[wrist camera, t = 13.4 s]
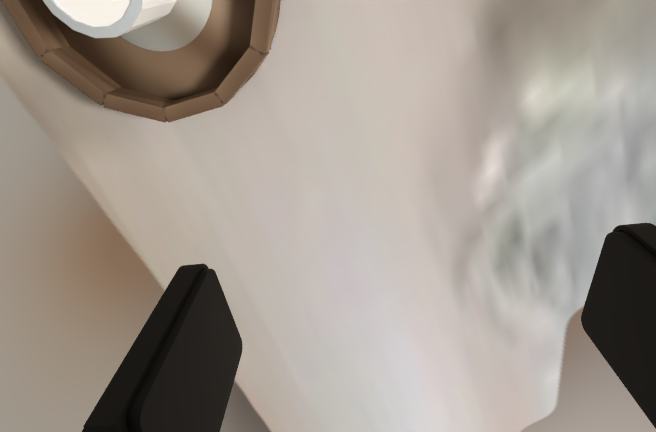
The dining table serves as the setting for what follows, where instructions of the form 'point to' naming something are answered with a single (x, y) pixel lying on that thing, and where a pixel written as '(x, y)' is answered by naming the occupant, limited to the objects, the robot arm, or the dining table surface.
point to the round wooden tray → (158, 55)
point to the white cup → (108, 15)
